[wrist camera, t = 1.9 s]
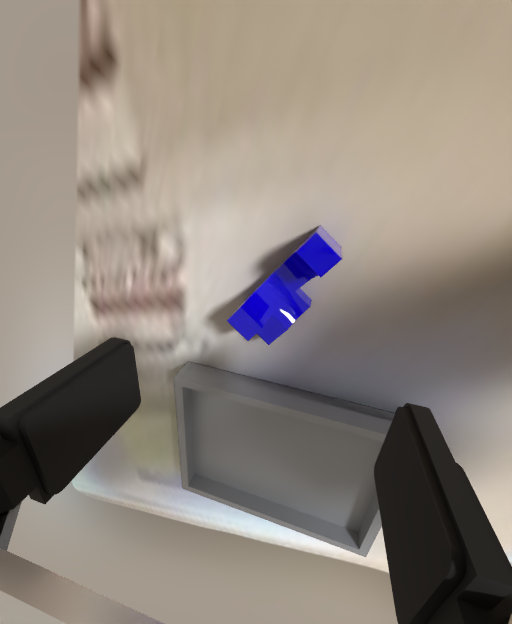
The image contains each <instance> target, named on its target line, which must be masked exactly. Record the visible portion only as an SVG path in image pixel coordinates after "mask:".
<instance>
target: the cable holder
mask: <svg viewBox="0 0 512 624" xmlns="http://www.w3.org/2000/svg"><path fill="white" fill-rule="evenodd" d="M341 259H342V252H341V246H340V245H339V244H338V243H337V242H336V241H335V240H334V239H333V238H332V237H331V236H330V235H329V234H328V233H327V232H326V231H325V229H324V228H323V227H322V226H321V225H320V226H319V227H318V228H317V229H316V230H315V231H314V232H313V233H312V234H311V235H310V236H309V237H308V238H307V239H306V240H305V241H304V242H303V243H302V244H301V245H300V246H299V247H298V248H297V249H296V250H295V251H294V252H293V253H292V254H291V255H290V256H289V257H288V258H287V259H286V260H285V261H284V262H283V263H282V264H281V265H280V266H279V267H278V268H277V269H276V270H275V271H274V272H273V273H272V274H271V275H270V276H269V277H268V278H267V279H266V280H265V281H264V282H263V283H262V284H261V285H260V286H259V287H258V288H257V289H256V290H255V291H254V292H253V293H252V294H251V295H250V296H249V297H248V298H247V299H246V300H245V301H244V302H243V303H242V304H241V305H240V306H239V307H238V309H237V310H236V311H235V312H234V313H233V314H232V315H231V316H230V318H229V319H228V320H227V321H228V322H229V323H230V324H231V325H232V326H233V327H234V328H235V329H236V330H237V331H238V332H239V333H240V334H241V335H242V336H243V337H244V338H245V339H246V340H247V341H249V340H250V339H251V338H252V337H253V336H254V335H255V334H258V335H259V336H260V337H261V338H262V339H263V340H264V341H265V342H266V343H267V344H268V345H269V344H270V343H272V342H273V341H274V340H275V339H277V338H278V337H279V336H280V335H282V334H283V333H284V332H285V331H287V330H288V329H289V327H290V326H291V325H292V324H293V323H294V322H295V321H296V319H297V318H298V317H299V316H300V315H301V314H303V313H304V312H305V311H306V310H307V309H308V308H309V307H310V306H311V301H312V300H311V299H310V298H309V297H308V296H307V295H306V294H305V293H304V292H303V291H302V290H301V289H300V287H301V286H302V285H304V284H305V283H306V282H308V281H309V280H310V279H312V278H314V277H315V276H318V275H319V276H320V277H322V276H323V275H324V274H325V273H327V272H328V271H329V270H330V269H331V268H332V267H333V266H335V265H336V264H337V263H338V262H339V261H340V260H341Z"/></svg>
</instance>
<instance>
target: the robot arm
mask: <svg viewBox="0 0 512 624" xmlns="http://www.w3.org/2000/svg"><path fill="white" fill-rule="evenodd" d="M140 402H141V397H140V390H139V382H138V375H137V368H136V361H135V354H134V348H133V346H132V345H131V343H130V342H129V341H128V340H124V339H120V338H110V339H109V340H107V341H105V342H104V343H102V344H101V345H99V346H98V347H96V348H94V349H93V350H91V351H90V352H88V353H86V354H85V355H83V356H82V357H80V358H78V359H77V360H75V361H74V362H72V363H71V364H69V365H67V366H66V367H64V368H63V369H61V370H59V371H58V372H56V373H55V374H53V375H52V376H50V377H48V378H47V379H45V380H44V381H42V382H40V383H39V384H37V385H36V386H34V387H33V388H31V389H29V390H28V391H26V392H24V393H23V394H21V395H20V396H18V397H17V398H15V399H13V400H12V401H10V402H9V403H7V404H5V405H4V406H2V407H1V408H0V624H164V623H162V622H159V621H157V620H155V619H153V618H151V617H148V616H147V615H144V614H142V613H140V612H138V611H136V610H134V609H131V608H129V607H127V606H125V605H123V604H121V603H119V602H116V601H114V600H112V599H110V598H108V597H106V596H103V595H101V594H99V593H97V592H95V591H93V590H90V589H88V588H86V587H84V586H82V585H80V584H78V583H75V582H73V581H71V580H69V579H67V578H65V577H62V576H60V575H58V574H56V573H54V572H51V571H49V570H47V569H45V568H43V567H41V566H38V565H36V564H34V563H32V562H30V561H28V560H25V559H23V558H21V557H19V556H17V555H14V554H12V553H10V552H8V551H7V548H8V545H9V541H10V538H11V535H12V532H13V528H14V525H15V522H16V519H17V515H18V512H19V509H20V505H21V502H22V500H23V499H25V498H26V497H27V495H29V496H30V498H31V499H33V500H35V501H38V502H40V503H43V504H46V503H47V502H48V501H49V500H50V499H51V497H52V496H53V495H54V494H57V493H59V492H61V491H62V490H63V489H64V488H65V487H66V486H67V485H68V484H69V483H70V482H71V480H72V479H73V478H74V477H75V476H76V475H77V474H78V473H79V472H80V471H81V470H82V468H83V467H84V466H85V465H86V464H87V463H88V462H89V461H90V460H91V459H92V458H93V457H94V455H95V454H96V453H97V452H98V451H99V450H100V449H101V448H102V447H103V446H104V445H105V444H106V442H107V441H108V440H109V439H110V438H111V437H112V436H113V435H114V434H115V433H116V432H117V431H118V429H119V428H120V427H121V426H122V425H123V424H124V423H125V422H126V421H127V420H128V419H129V417H130V416H131V415H132V414H133V413H134V412H135V411H136V410H137V409H138V407H139V405H140ZM374 479H375V485H376V492H377V498H378V504H379V510H380V517H381V523H382V529H383V535H384V542H385V548H386V554H387V560H388V567H389V573H390V579H391V585H392V592H393V598H394V604H395V610H396V616H397V621H398V624H512V566H511V564H510V562H509V560H508V558H507V556H506V554H505V552H504V550H503V548H502V546H501V544H500V542H499V540H498V538H497V536H496V534H495V532H494V530H493V528H492V526H491V524H490V522H489V520H488V518H487V516H486V514H485V512H484V510H483V508H482V506H481V504H480V502H479V500H478V498H477V496H476V494H475V492H474V490H473V488H472V486H471V484H470V482H469V480H468V478H467V476H466V474H465V472H464V470H463V469H462V467H461V466H460V465H459V464H458V463H455V460H454V458H453V456H452V454H451V452H450V450H449V448H448V446H447V444H446V442H445V440H444V437H443V435H442V433H441V431H440V429H439V427H438V425H437V423H436V421H435V419H434V417H433V414H432V412H431V411H430V409H429V408H426V407H422V406H417V405H413V404H408V403H407V404H405V405H404V407H398V408H397V410H396V413H395V415H394V418H393V420H392V423H391V425H390V427H389V430H388V432H387V435H386V437H385V440H384V442H383V445H382V447H381V450H380V452H379V455H378V457H377V460H376V462H375V466H374Z"/></svg>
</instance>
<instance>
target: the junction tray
mask: <svg viewBox="0 0 512 624" xmlns="http://www.w3.org/2000/svg"><path fill="white" fill-rule="evenodd" d="M174 388H175V401H176V414H177V427H178V439H179V452H180V465H181V478H182V488H183V489H186V490H188V491H191V492H194V493H196V494H199V495H202V496H204V497H207V498H210V499H212V500H215V501H218V502H220V503H223V504H226V505H228V506H231V507H234V508H236V509H239V510H241V511H244V512H247V513H249V514H252V515H255V516H257V517H260V518H263V519H265V520H268V521H271V522H273V523H276V524H279V525H281V526H284V527H287V528H289V529H292V530H295V531H297V532H300V533H303V534H305V535H308V536H311V537H313V538H316V539H319V540H321V541H324V542H327V543H329V544H332V545H335V546H337V547H340V548H343V549H345V550H348V551H351V552H353V553H356V554H359V555H361V556H364V557H366V556H367V554H368V552H369V550H370V548H371V546H372V544H373V542H374V540H375V538H376V536H377V534H378V532H379V530H380V528H381V526H382V523H381V517H380V510H379V504H378V498H377V492H376V485H375V479H374V466H375V462H376V460H377V457H378V455H379V452H380V450H381V447H382V445H383V442H384V440H385V437H386V435H387V432H388V430H389V427H390V425H391V423H392V420H393V418H394V415H395V413H391V412H387V411H383V410H379V409H375V408H371V407H367V406H363V405H359V404H355V403H351V402H347V401H343V400H339V399H335V398H331V397H327V396H323V395H319V394H315V393H312V392H308V391H304V390H300V389H296V388H292V387H288V386H284V385H280V384H276V383H272V382H268V381H264V380H260V379H256V378H252V377H248V376H244V375H240V374H236V373H232V372H228V371H224V370H220V369H216V368H212V367H208V366H204V365H200V364H196V363H192V362H187V363H186V364H185V365H184V367H183V368H182V369H181V370H180V371H179V372H178V373H177V374H176V375H175V376H174Z"/></svg>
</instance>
